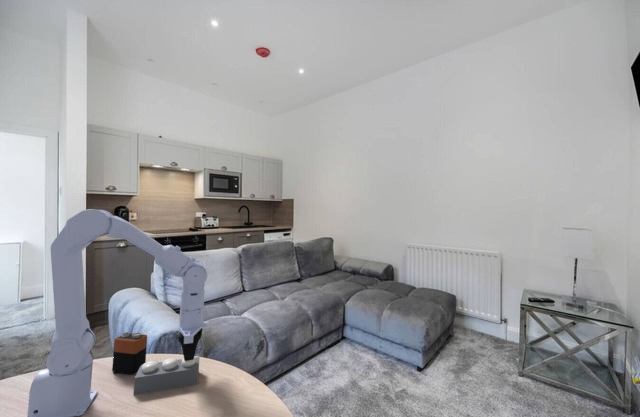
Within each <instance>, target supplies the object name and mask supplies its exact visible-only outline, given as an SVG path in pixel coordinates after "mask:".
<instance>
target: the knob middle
mask: <svg viewBox="0 0 640 417" xmlns="http://www.w3.org/2000/svg"><path fill="white" fill-rule="evenodd" d="M177 360H178V359H177V358H175V357H172V358H167V359H165V360H163V361H162V362H163V363H162V369H163V370H170V369H173V368H175V367H176V366H177Z"/></svg>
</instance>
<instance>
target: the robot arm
mask: <svg viewBox="0 0 640 417" xmlns="http://www.w3.org/2000/svg"><path fill="white" fill-rule="evenodd" d="M105 235H106V238H112V239H123V240H126V241H127V242H129V243H131V244H132V245H134V246H136V247H138V248H139V249H141V250H143V251H145V252H146V253H148V254H149V255H152V256H153V257H154V264H155V265H157V266H158V267H160V268H162V269H163V270H165V271H166V272H169V274H172V275H173V276H175V277H178V278H181V279H182V288H181V289H182V290H181V291H180V307H179V308H180V309H179V324H178V326H177V330H178V331H179V333H178V336H177V339H178V341H179V343H180V346H181V348H182V353H183V358H184V360H185V361H188V360H193V359H194V356H195V357H196V351H197V347H198V344H199V341H200V340H201V338H202V336H203V328H206V327H207V326H208V321H204V307H205V292H206V291H205V285H206V284H205V283H206V280H207V279H208V275H209V274H208V273H207V270H206V268H205V267H204V265H203V264H202V263H201V262H200V261H199V260H197V259H196V258H195V257H194V256H192V257H191V256H189V255H188V254H186V253H185V252H183V251H182V250H181V249H182V248H181V247H180V246H178V245H176V246H174V245H172V244H168V245H162V244H161V243H159V242H158V241H157V240H155V239H154V238H152V237H151V236H149V235H148V234H147V233H145V232H144V231H143V230H141V229H139V228H138V227H137V226H135V225H134V224H133V223H131V222H129V221H127V220H126V219H123V218H121V217H119V216H117V215H114V214H112V213H111V212H110V211H108V210H105V209H93V208H91V209H89V208H88V209H84V210H81V211H79V212H78V213H76V214H75V215H73V216H72V217H70V218H68V219H67V220H66V223H65V225H64V226H63V228H62V229H61V231H60V232H59V233H58V235H56V238H55V239H54V240H53V242H52V243H51V245H50V260H51V261H50V262H51V273H52V274H51V277H52V292H53V305H54V306H53V307H54V318H55V319H54V320H55V323H54V324H55V329H54V333H53V336H52V339H51V350H50V353H49V354H48V356H47V357H46V364H45V365H46V368H43V369H41V370H40V371H39V370H38V372H37V373H36V375H35V376H34V377H33V380H32V382H31V384H30V387H29V394H28V407H27V417H79V416H83V415H85V413H86V411H87V409H88V408H89V406H90V405H91V404H92V402H93V400H94V399H95V397H96V396H97V394H98V390H92V379H93V377H92V376H93V364H94V358H93V356H92V355H91V353H90V351H91V349H92V348H93V347H94V345H95V343H96V334H95V333H94V332H93V330H92V329H91V326H90V321H89V320H88V318H87V310H86V309H87V308H86V296H85V293H86V292H85V280H84V279H85V278H84V263H83V251H84V249H86V248H87V247H88V246H89V245H90V244H91V243H93V242H94V241H95V240H96V239H99V238H100V237H103V236H105Z"/></svg>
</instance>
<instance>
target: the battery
mask: <svg viewBox="0 0 640 417" xmlns="http://www.w3.org/2000/svg"><path fill="white" fill-rule="evenodd" d="M113 342H114V343H113V356H112V367H111V368H112V369H111V371H112V373H114V374H115V373H116V374H123V375H131V376H133V375H136V374H137V372H138V370H139V368H140V366H141V365H143V364H144V363H146V360H147V359H146V358H147V348H148V347H147V346H148V335H147V334H142V332H140V331H139V332H138V331H137V332H133V333H132V332H131V333H130V332H129V331H125V332H123V333H122V335H120V336H117V337H116V338H114V341H113ZM113 357H114V358H113Z"/></svg>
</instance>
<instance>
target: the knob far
mask: <svg viewBox="0 0 640 417" xmlns="http://www.w3.org/2000/svg"><path fill="white" fill-rule="evenodd" d="M196 357H197V356H196V355H195V356H194V359H193V360H188V361H185V360H184V357H183V358H181V359H182V366H183V367H190V366H193V365H195V363H196Z"/></svg>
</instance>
